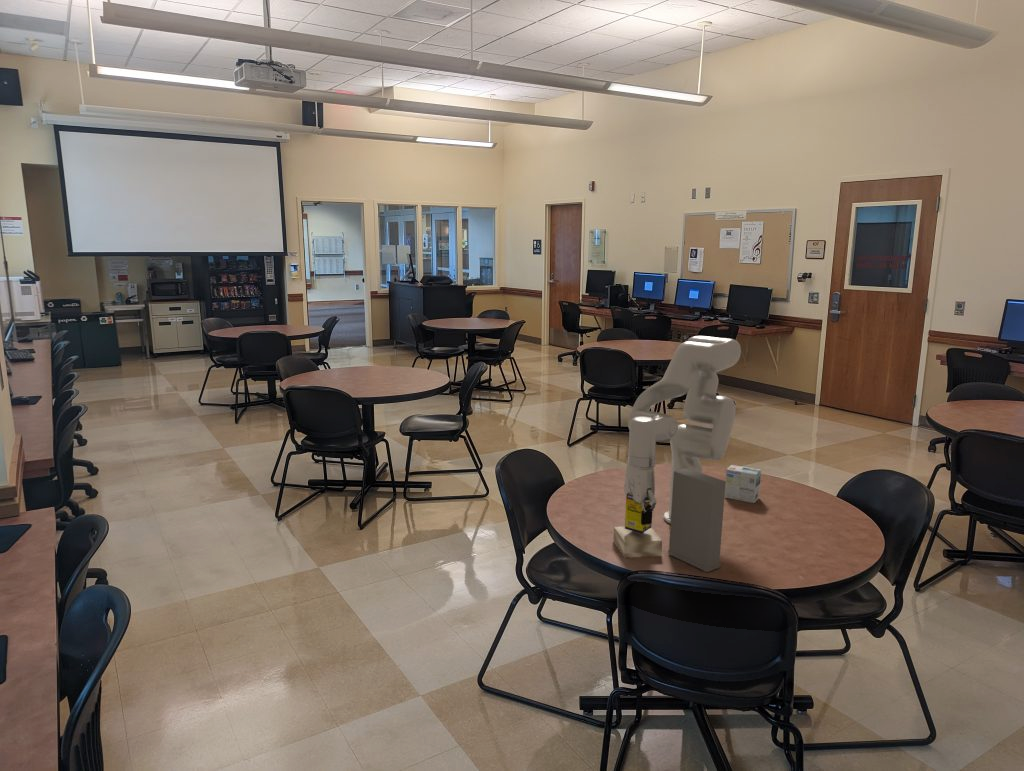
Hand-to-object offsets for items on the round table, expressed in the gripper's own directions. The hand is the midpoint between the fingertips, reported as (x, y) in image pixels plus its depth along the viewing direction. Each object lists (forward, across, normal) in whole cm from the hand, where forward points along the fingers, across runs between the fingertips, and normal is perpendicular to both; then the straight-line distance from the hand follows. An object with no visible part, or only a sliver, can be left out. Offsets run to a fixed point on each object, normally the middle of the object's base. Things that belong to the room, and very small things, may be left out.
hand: (638, 518), depth 200 cm
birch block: (+10, 0, 0) cm, 10 cm away
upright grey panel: (+10, +12, +11) cm, 19 cm away
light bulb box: (+10, -27, +56) cm, 63 cm away
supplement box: (+3, 0, 0) cm, 3 cm away
